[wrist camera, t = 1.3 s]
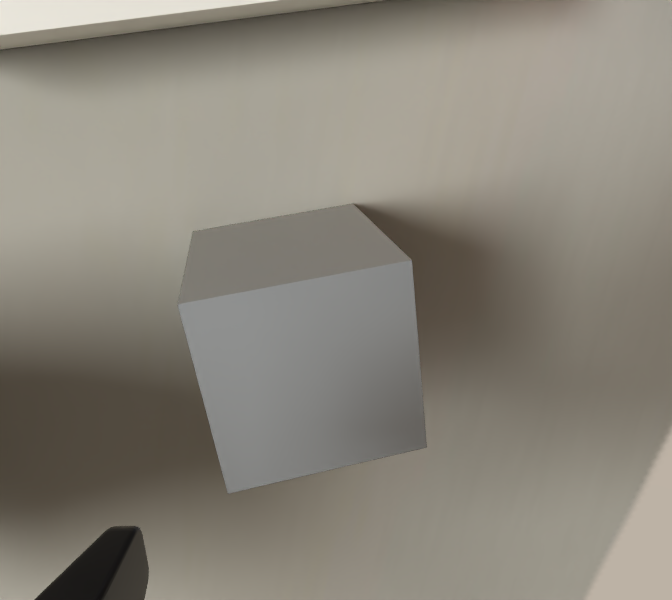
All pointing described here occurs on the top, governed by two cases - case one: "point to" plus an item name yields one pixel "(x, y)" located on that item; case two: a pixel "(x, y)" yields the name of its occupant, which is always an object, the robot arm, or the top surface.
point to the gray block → (303, 344)
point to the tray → (129, 16)
